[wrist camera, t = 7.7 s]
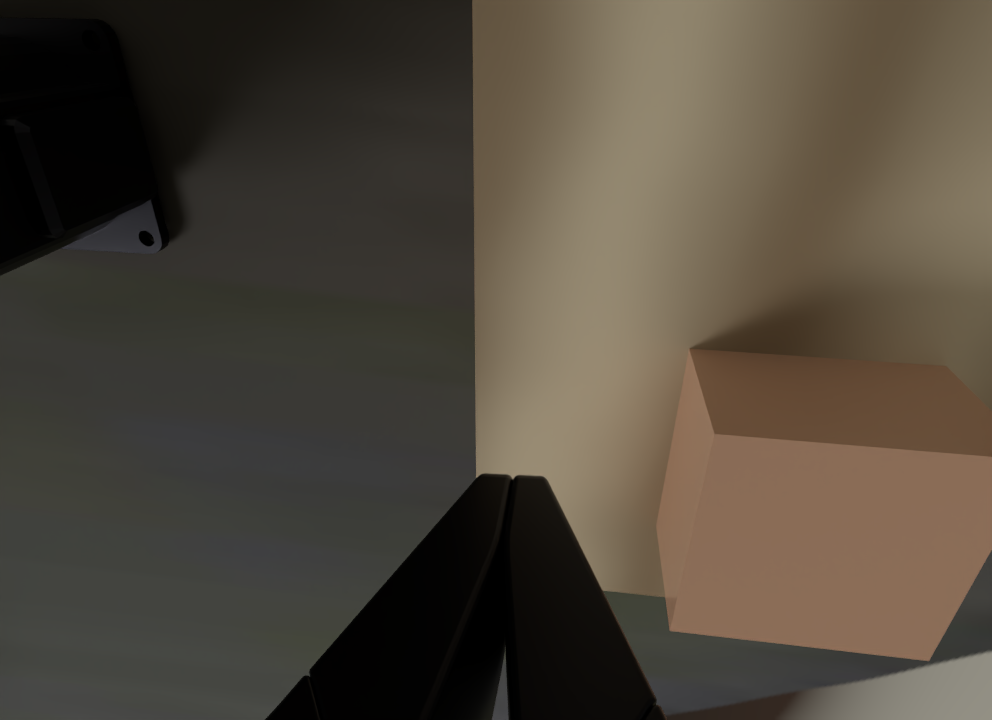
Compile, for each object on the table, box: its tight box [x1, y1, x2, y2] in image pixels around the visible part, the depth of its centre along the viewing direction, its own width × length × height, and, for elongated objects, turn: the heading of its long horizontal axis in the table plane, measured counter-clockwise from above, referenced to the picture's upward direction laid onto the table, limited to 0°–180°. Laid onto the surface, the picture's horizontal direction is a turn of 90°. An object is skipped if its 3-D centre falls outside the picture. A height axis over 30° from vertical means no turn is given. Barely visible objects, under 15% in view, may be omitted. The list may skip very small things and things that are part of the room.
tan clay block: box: [656, 349, 992, 661], centre depth 13 cm, size 5×5×3 cm
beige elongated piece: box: [472, 0, 992, 597], centre depth 14 cm, size 11×20×6 cm, turn 0°
